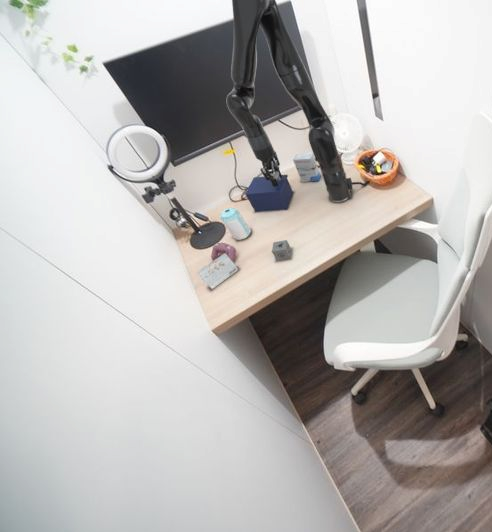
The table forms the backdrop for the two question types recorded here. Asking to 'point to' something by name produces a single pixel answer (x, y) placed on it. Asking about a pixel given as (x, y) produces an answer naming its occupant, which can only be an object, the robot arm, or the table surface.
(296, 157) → the ink box
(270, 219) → the table surface
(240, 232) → the can
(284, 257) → the dice cube
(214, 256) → the video game controller
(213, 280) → the ink box
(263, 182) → the lid
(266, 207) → the chest
